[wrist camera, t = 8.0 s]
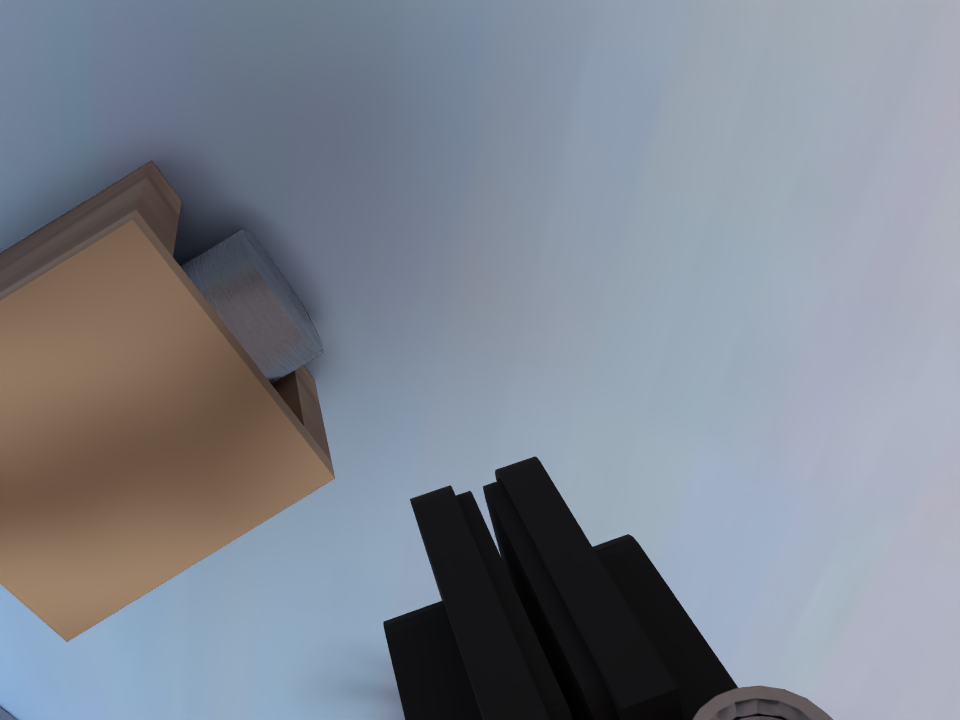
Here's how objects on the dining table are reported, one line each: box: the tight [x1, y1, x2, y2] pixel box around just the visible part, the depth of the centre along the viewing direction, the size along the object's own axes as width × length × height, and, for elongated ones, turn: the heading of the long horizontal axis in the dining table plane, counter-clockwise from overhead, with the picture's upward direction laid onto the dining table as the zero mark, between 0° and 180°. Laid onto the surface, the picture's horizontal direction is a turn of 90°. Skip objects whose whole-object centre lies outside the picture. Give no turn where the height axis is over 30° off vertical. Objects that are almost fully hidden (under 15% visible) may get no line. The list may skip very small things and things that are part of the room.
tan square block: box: [0, 161, 335, 642], centre depth 23 cm, size 8×8×6 cm
